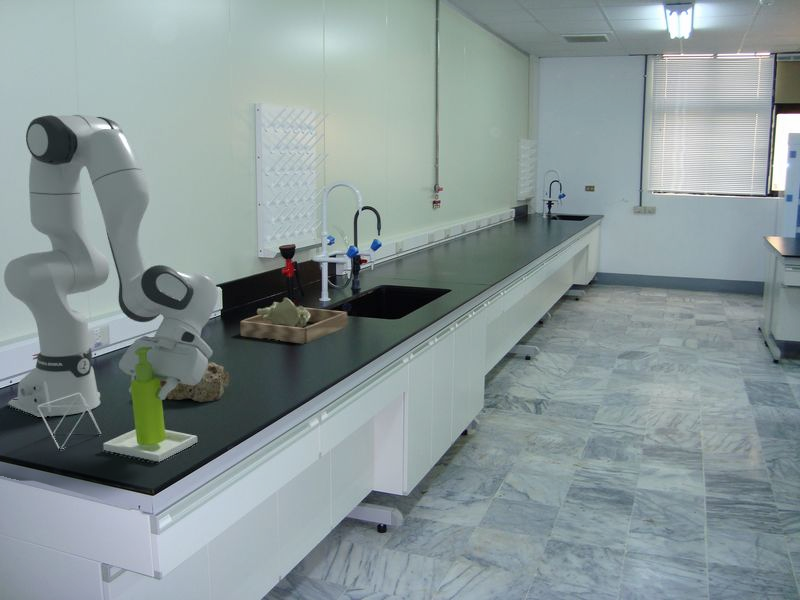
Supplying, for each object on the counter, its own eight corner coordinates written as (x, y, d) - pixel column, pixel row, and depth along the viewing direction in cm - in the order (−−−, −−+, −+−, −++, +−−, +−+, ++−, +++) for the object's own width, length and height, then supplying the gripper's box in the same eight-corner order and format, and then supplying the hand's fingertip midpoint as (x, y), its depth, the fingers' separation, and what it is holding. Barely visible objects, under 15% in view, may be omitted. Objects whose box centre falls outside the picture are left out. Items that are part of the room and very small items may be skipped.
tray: (103, 451, 162) (103, 443, 162) (144, 433, 173) (143, 425, 172) (159, 463, 156) (158, 455, 156) (197, 443, 167) (197, 436, 166)
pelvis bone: (271, 314, 285) (303, 292, 284) (289, 345, 282) (322, 323, 280) (249, 307, 266) (283, 283, 264) (268, 340, 263) (303, 317, 261)
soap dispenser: (170, 433, 167) (161, 344, 164) (161, 444, 161) (151, 351, 157) (143, 434, 167) (133, 345, 164) (133, 446, 160) (123, 353, 157)
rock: (138, 403, 196) (138, 364, 197) (171, 399, 210) (170, 363, 211) (209, 402, 190) (209, 362, 191) (238, 398, 204) (237, 361, 205)
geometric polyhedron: (96, 427, 176) (93, 389, 175) (106, 442, 167) (103, 402, 165) (37, 438, 170) (33, 398, 168) (44, 454, 161) (40, 413, 159)
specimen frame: (239, 335, 264) (238, 321, 263) (287, 318, 291) (287, 305, 291) (305, 343, 254) (304, 329, 253) (348, 325, 281) (348, 312, 280)
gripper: (131, 327, 170) (100, 381, 163) (205, 337, 162) (176, 395, 155) (146, 342, 175) (117, 395, 168) (219, 353, 167) (191, 409, 160)
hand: (145, 395), depth 162 cm, fingers closed on soap dispenser, 6 cm apart
